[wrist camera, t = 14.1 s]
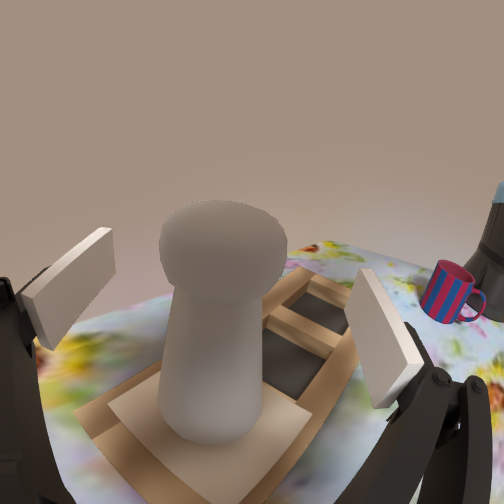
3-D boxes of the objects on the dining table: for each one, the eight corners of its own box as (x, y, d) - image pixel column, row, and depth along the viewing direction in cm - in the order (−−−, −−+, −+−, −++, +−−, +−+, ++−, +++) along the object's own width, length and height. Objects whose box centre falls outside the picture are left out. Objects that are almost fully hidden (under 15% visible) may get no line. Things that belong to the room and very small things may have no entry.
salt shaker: (256, 461, 12) (339, 265, 6) (155, 449, 12) (103, 237, 6) (254, 386, 17) (298, 198, 12) (171, 376, 17) (166, 182, 11)
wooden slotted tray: (378, 317, 30) (385, 302, 29) (211, 550, 7) (211, 551, 6) (296, 279, 36) (300, 264, 35) (82, 424, 13) (71, 409, 12)
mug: (433, 295, 37) (450, 258, 34) (474, 331, 28) (496, 292, 25) (412, 301, 34) (430, 260, 31) (457, 343, 26) (483, 300, 23)
